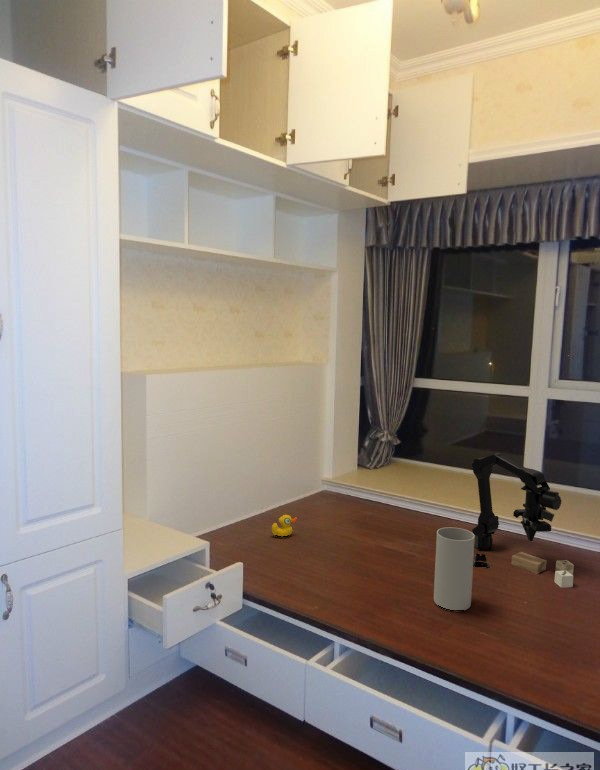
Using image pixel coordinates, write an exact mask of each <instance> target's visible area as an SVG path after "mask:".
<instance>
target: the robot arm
mask: <svg viewBox="0 0 600 770" xmlns="http://www.w3.org/2000/svg"><path fill="white" fill-rule="evenodd" d="M494 466H499V467H500V468H502V469H504V470H505V471H507V472H509V473H511V474H512V475H515V476H516V477H517V478H519V480H520V482H522V483H523V484H524V486H522V487H520V490H522V491H525V497H524V498H525V499H524V500H525V501H524V503H522V507H524V508H523V509H522V508H519V509H518V508H516V509H515V510H514V511H513V513H512V514H513V517H514V518H515V519H518V518H519V517H521V518H522V519H521V521H520V523H521V525H522V528H523V530H524V532H525V535H526V537H527V540H528V541H529V542H532V541H534V538H535V536H536V534H537V532H538V533H539V532H540V533H541V532H542V533H544V532H551V531H552V525H551V524H550V523H549V522H551V523H552V522H553V520H554V518H555V514H554V513H552V512H551V511H550V510H554V511H558V510H559V509H560V507H561V506H562V498H561V496H560V493H559V492H558V491H553V490H551V488H550V487H551V486H550V485H549V484H548V482H547V480H546V478H545V475H544V473H543V472H542V471H539V470H537V469H533V468H528V467H525V466H523V465H522V464H519V463H518V462H516V461H514V460H512V459H511V458H509V457H506V456H505V455H504V454H502V453H501V452H497V453H493V454H491V455H489V456H483V457H479V458H475V459H474V460H472V462H471V468H472V471H473V472H472V473H473V474H474V476H475V478H476V479H477V488H478V497H479V498H478V499H479V509H480V513H479V515H478V518H477V525H476V526H475V527H474V528H473V529H472V530H471V532H472V533H473V534H474V535H475V539H474V549H477V550H478V551H479V552H480V551H481V552H483V551H485V552H488V551H494V549H493V543H494V541H493V540H494V539H493V535H494V534H495V533H496V532H497V530H498V529H499V526H500V522H499V516H498V515H496V514H495V513H494V512H493V502H492V491H491V482H490V480H491V479H490V478H491V475H492V473H493V467H494ZM547 509H550V510H549V511H548V510H547ZM545 520H546V521H545ZM547 521H549V522H547Z"/></svg>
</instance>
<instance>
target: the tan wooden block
mask: <svg viewBox="0 0 600 770" xmlns="http://www.w3.org/2000/svg"><path fill="white" fill-rule="evenodd" d="M547 563H548V562H547V560H546V559H543V558H540V557H538V556H535V555H531V554H530V553H526V552H523V551H519V552H517V553H515V554H513V555H511V564H512V565H511V566H515V567H517V568H519V567H520V569H521V570H522V569H523V570H525V571H528V572H530V571H531V573H533V574H536V575H539V574H540V573H542V572H544V571H546V570H547Z"/></svg>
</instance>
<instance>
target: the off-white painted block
mask: <svg viewBox="0 0 600 770" xmlns="http://www.w3.org/2000/svg"><path fill="white" fill-rule="evenodd" d="M554 583H555V584H556V585H558V586H559V587H560V588H563V589H564V588H573V586H574V585H573V584H574V574H573V575H572V574H570V573H569V572H568V571H556V570H555V572H554Z"/></svg>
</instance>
